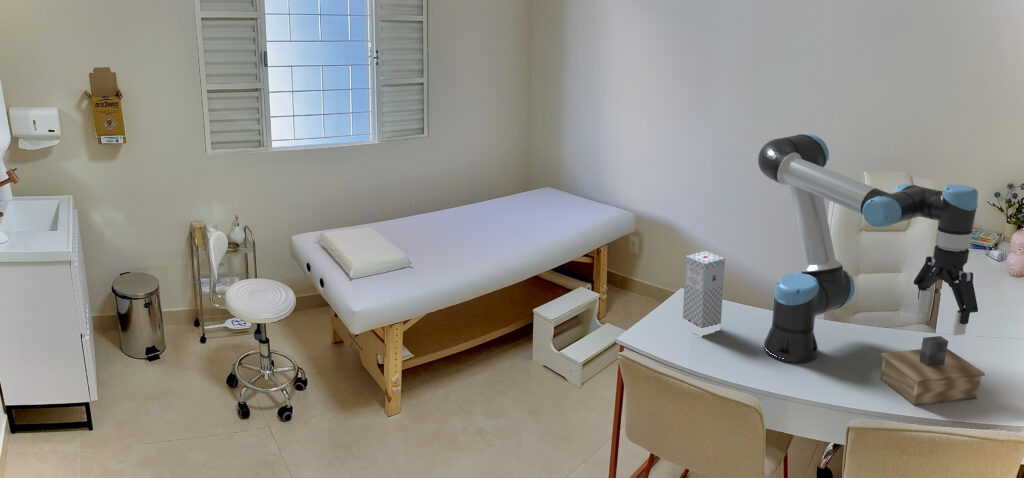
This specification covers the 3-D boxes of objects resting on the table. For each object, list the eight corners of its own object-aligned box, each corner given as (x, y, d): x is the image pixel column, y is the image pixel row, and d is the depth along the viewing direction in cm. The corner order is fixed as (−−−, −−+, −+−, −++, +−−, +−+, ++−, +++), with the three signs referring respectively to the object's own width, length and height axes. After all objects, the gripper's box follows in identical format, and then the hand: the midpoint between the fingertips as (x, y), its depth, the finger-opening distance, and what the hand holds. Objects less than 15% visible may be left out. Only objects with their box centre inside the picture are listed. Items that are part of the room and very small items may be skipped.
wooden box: (914, 405, 186) (918, 382, 184) (880, 378, 199) (883, 356, 197) (976, 398, 188) (981, 374, 186) (939, 372, 201) (943, 350, 199)
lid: (917, 385, 183) (922, 356, 181) (880, 357, 197) (884, 330, 195) (984, 377, 186) (990, 348, 183) (943, 351, 200) (948, 323, 197)
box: (682, 327, 234) (685, 256, 226) (701, 321, 238) (705, 250, 230) (700, 337, 227) (705, 263, 219) (720, 330, 231) (725, 258, 223)
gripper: (1004, 261, 169) (989, 342, 176) (931, 230, 193) (920, 303, 199) (975, 264, 168) (961, 345, 175) (905, 233, 192) (895, 305, 198)
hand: (939, 323), depth 187 cm, fingers open, 13 cm apart
